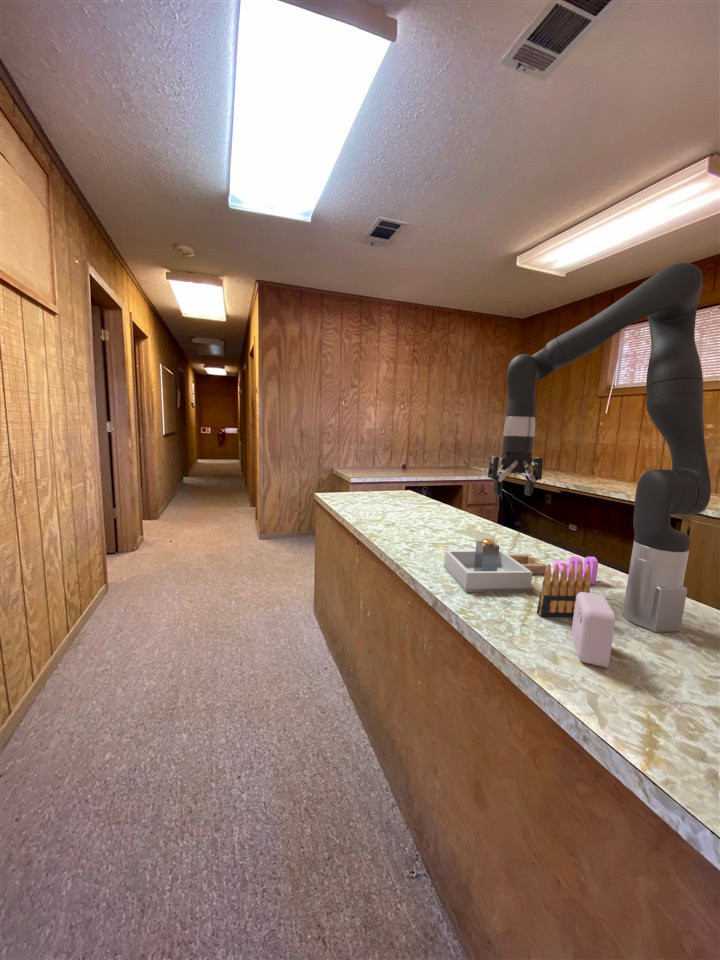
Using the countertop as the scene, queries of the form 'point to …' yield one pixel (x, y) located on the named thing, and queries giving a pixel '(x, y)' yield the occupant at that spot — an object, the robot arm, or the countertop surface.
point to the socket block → (530, 563)
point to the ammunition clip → (562, 591)
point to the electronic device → (593, 629)
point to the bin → (487, 573)
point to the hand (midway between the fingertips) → (513, 495)
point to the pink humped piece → (577, 561)
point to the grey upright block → (486, 555)
